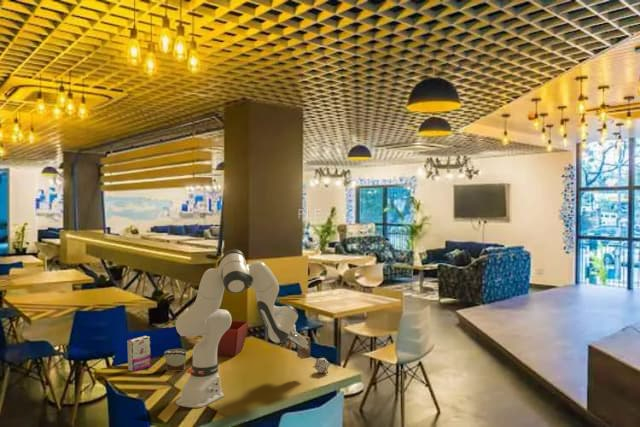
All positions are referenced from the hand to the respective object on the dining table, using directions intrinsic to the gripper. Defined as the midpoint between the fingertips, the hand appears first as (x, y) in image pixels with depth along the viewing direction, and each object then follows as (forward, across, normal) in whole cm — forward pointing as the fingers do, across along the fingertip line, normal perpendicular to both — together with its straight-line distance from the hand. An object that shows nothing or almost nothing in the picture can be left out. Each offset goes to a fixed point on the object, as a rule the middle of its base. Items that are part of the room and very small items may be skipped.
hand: (304, 346), depth 256 cm
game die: (+18, +1, +4) cm, 19 cm away
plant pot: (-5, +57, +29) cm, 64 cm away
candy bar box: (-40, +52, +65) cm, 92 cm away
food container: (-28, +42, +52) cm, 72 cm away
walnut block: (+3, 0, +4) cm, 5 cm away
